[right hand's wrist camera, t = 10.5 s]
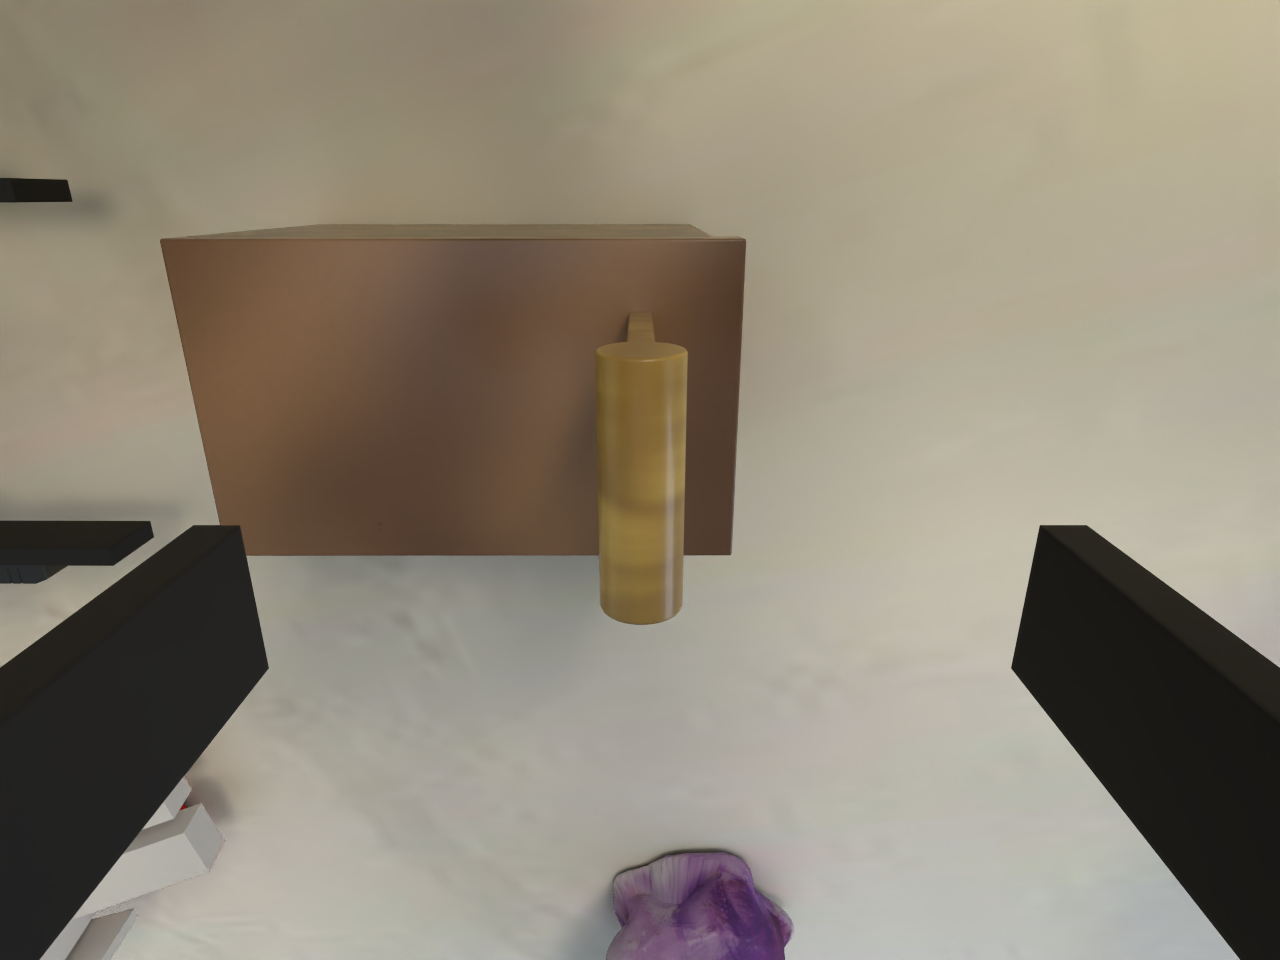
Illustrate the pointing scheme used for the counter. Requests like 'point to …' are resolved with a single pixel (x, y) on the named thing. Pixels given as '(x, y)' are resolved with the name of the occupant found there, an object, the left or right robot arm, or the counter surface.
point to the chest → (473, 231)
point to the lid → (471, 397)
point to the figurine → (696, 912)
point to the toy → (142, 876)
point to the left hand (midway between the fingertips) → (92, 381)
